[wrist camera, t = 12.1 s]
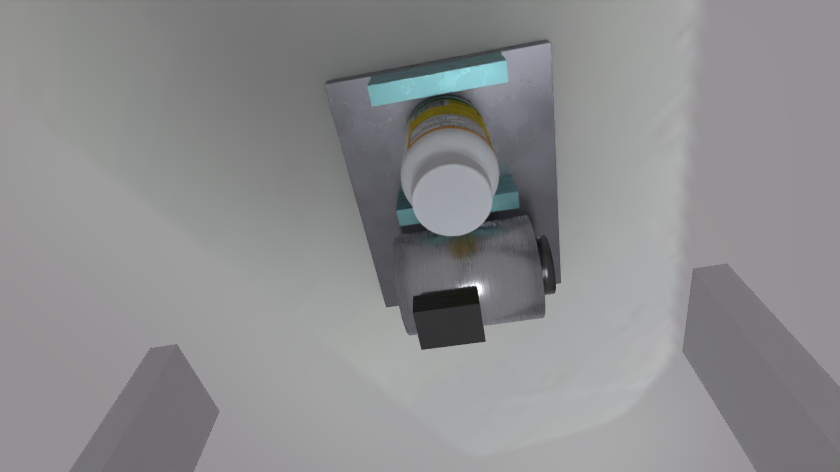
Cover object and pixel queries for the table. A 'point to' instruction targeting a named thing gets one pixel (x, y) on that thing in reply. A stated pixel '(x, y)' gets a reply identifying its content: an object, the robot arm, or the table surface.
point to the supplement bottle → (449, 166)
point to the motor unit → (512, 202)
